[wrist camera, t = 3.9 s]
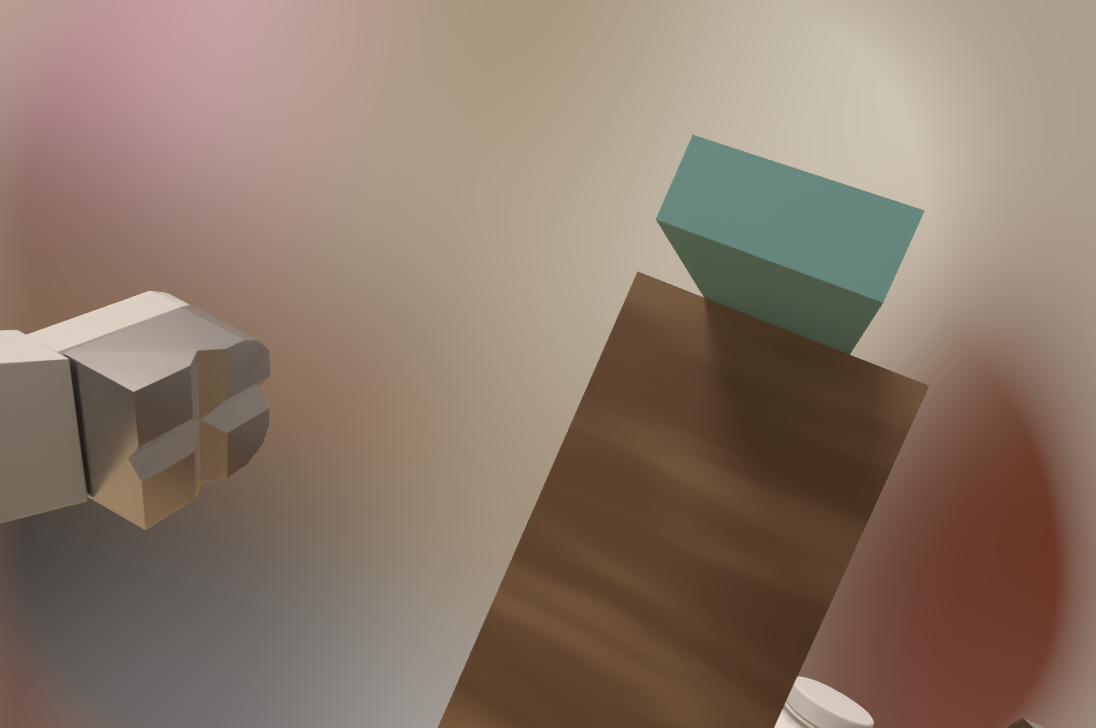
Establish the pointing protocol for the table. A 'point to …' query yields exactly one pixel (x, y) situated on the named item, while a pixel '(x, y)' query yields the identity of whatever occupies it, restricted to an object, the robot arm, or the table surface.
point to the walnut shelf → (687, 526)
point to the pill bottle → (820, 708)
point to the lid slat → (785, 242)
